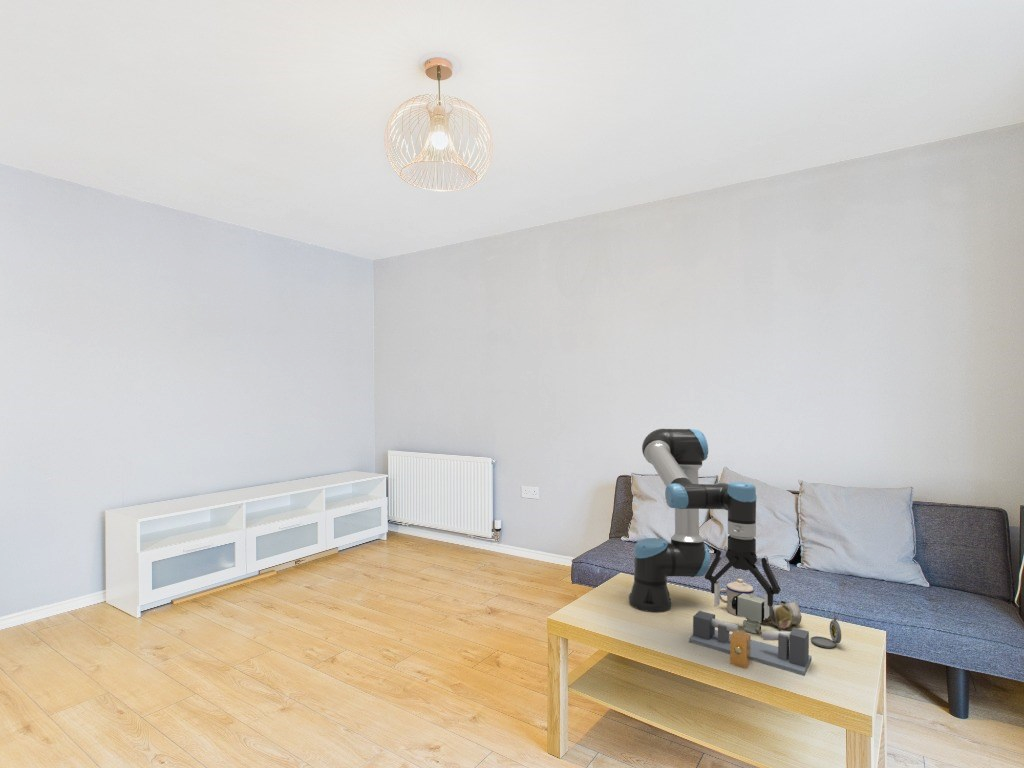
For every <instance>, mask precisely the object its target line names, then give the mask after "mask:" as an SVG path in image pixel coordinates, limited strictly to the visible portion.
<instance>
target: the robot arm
mask: <svg viewBox="0 0 1024 768" xmlns="http://www.w3.org/2000/svg"><path fill="white" fill-rule="evenodd" d="M641 450H642V451H641V452H642V455H643V457H644V458H645V460H646V462H648V463H649V464H650V465H652V467H653V468H654V470H655V472H657V474H658V475H659V478H660V479H661V481H662V483H663V484H664V485H665V492H664V495H665V496H664V497H665V498H664V499H665V500H666V501H665V502H666V505H667V506H668V507H669V508H670V509H674V534H673V535H672V536H671V537H670V543H668V542H667V540H666V539H663V538H661V537H659V538H657V537H651V538H650V537H649V538H642V539H640V540H638V541H636V543H635V545H634V554H633V557H634V559H633V560H634V563H633V564H634V569H633V570H634V571H633V576H634V577H633V584H632V587H631V592H630V593H629V595H628V603H629V604H630V606H631V607H633V608H635V609H637V610H641V611H644V612H648V613H649V612H652V613H661V612H667V611H669V610H671V609H672V599H671V595H670V592H669V588H668V585H667V583H668V582H667V579H668V577H686V578H687V577H688V578H689V577H690V578H695V577H704V579H705V580H708V581H709V582H710V592H711V594H713V595H714V598H713V599H714V601H713V602H714V604H713V605H714V607H716V608H718V606H720V603H721V600H720V596H721V592H720V589H721V582H720V581H718V580H719V579H720V578H721V577H723V575H724V574H725V573H726V572H727V571H728V570H729V569H731V568H732V567H733V568H734V569H735V570H742V571H746V572H747V571H749V572H750V574H751V575H753V576H754V578H755V579H756V580H757V581H758V583H759V584H760V585H761V587H762V588H763V590H765V593H764V595H763V596H764V598H763V599H764V618H768V617H769V606H773V605H774V595H779V594H780V592H781V591H782V590H781V587H780V586H779V585H780V584H779V582H778V581H777V579H776V577H775V574H774V573H773V571H772V568H771V567H770V565H769V564H770V563H769V557H768V556H767V555H765V556H763V557H762V556H757V553H756V551H757V540H756V538H755V537H756V536H757V523H756V521H757V493H756V491H757V490H756V485H754V484H753V483H752V482H751V483H750V482H744V481H730V482H729V483H725V482H717V483H713V484H712V483H711V484H707V483H699V470H700V468H701V467H702V466H703V462H704V461H706V460H707V459H708V455H709V445H708V441H707V438H706V436H705V434H704V433H703V432H702V431H701V430H699V429H691V428H659V429H655V430H652V431H651V432H649V433H648V434H647V435H646V436H645V438H644V440H643V442H642V446H641ZM700 510H725V511H727V535H728V536H727V551H726V550H723V549H722V548H718V549H717V550H716V551H715V557H714V559H713V561H712V562H711V553H710V548H709V545H707V544H706V543H704V538H702V536H700ZM725 557H726V559H727V560H728V562H727V563H726V564H725V565H724V566H723V567H722V569H720V570H719V571H718V572H717V573H716V574H715V575H714V576H713V574H714V572H715V570H716V569H717V567H718V565H719V563H720V562H721V560H722V559H723V558H725ZM757 562H758V563H759V565H760V566H762V569H763V571H764V574H765V576H766V577H767V579H768V581H767V580H766V578H765V577H764V575H763V573H761V571H760V570H759V568H758V566H757V565H756V563H757Z"/></svg>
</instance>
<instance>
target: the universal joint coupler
mask: <svg viewBox="0 0 1024 768" xmlns="http://www.w3.org/2000/svg"><path fill="white" fill-rule="evenodd" d="M730 634H731V637H730V654H729V655H730V657H729V658H730V659H729V661H730V662H729V663H730V665H733V666H737V667H740V668H744V669H747V668H748V667H749V665H750V664H751V660H750V646H751V640H752V637H751V633H745V632H742V631H739V630H738V631H734V632H731V633H730Z"/></svg>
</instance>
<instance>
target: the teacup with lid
mask: <svg viewBox="0 0 1024 768" xmlns="http://www.w3.org/2000/svg"><path fill="white" fill-rule="evenodd" d="M721 592H726V593H727V594H726V600H725V599H724V598H722V596H721V595H720V602H722V603H724V604H726V610H727V611H728V612H729V614H731V615H733V616H737V617H739V616H738V615H736V612H735V610H734V609H733V608H732V599H733V597H734V596H737V595H738V594H740V593H744V594H748V595H751V594H752V595H754V592H755V589H754V587H753V586H752V585H750V584H748V583H746V582H744V580H743V579H742V578H737V580H736V581H731V582H729V583H727V584H726V588H720V593H721Z"/></svg>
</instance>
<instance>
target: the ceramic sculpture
mask: <svg viewBox="0 0 1024 768" xmlns="http://www.w3.org/2000/svg"><path fill="white" fill-rule="evenodd" d="M772 607H773V616H772V618H771V620H769V619H768V620H767V621H765V622H764V623H767V624H768V623H770V622H771V624H773V626H776V627H777V628H778V629H779V630H780V631H781V630H784V631H788V630H789V629H790V628H791V627H792V625H793V626H798V625H800V623H802V619H803V618H802V616H803V615H802V614H801V610H800V607H799V605H798V602H797V601H793V602H787V601H783V600H780V601H779V602H778V603H775V604H773V605H772ZM764 623H763V624H764Z"/></svg>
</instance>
